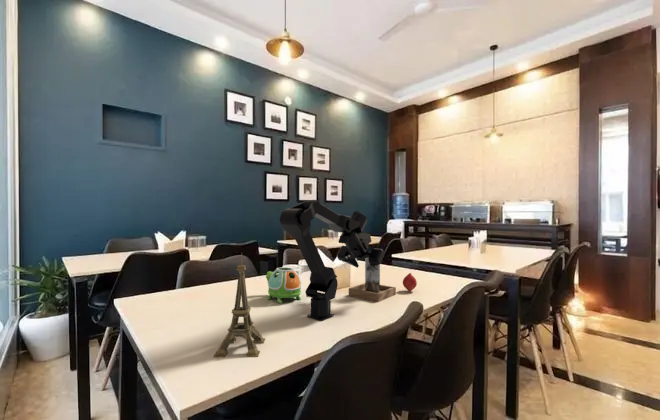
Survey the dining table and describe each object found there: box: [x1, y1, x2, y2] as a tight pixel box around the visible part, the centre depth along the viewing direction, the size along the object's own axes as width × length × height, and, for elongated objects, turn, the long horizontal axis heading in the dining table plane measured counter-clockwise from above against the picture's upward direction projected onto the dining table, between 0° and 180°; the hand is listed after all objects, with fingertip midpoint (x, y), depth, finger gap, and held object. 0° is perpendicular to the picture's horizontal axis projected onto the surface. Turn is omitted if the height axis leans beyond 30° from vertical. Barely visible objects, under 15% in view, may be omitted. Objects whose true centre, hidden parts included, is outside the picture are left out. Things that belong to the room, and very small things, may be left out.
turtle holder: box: [265, 266, 302, 304], centre depth 129 cm, size 12×18×12 cm
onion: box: [402, 272, 418, 292], centre depth 140 cm, size 6×6×8 cm
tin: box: [364, 257, 381, 293], centre depth 133 cm, size 6×6×14 cm
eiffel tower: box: [212, 254, 266, 358], centre depth 82 cm, size 11×11×25 cm
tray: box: [348, 282, 397, 303], centre depth 133 cm, size 14×14×3 cm
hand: (367, 268), depth 130 cm, fingers open, 9 cm apart
